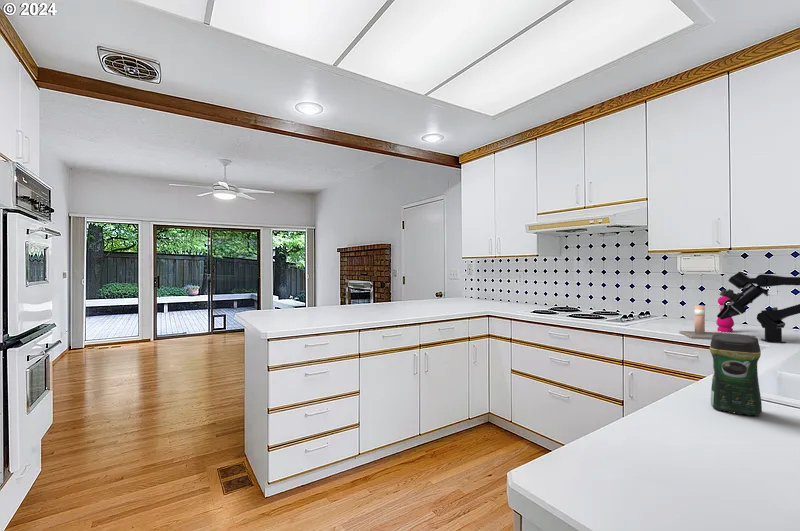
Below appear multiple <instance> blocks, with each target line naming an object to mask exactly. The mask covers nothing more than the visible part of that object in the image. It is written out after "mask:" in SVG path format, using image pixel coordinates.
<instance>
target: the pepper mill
mask: <svg viewBox="0 0 800 531" xmlns="http://www.w3.org/2000/svg"><path fill="white" fill-rule="evenodd" d="M727 299H730V298H728V297H725V296H719V297H718V298H717V304H719V305H718V308H719V312H720V311H721V310H722V309H723V307H724V305H723V303H724V301H725V300H727ZM725 304H726V303H725ZM716 325H717V326H718V327H717V329H716V330H717V331H716V332H719V331H721V333H728V332H731V333H734V328H733V327H734V326H735V321H734V319H733V317H729V318H726V319H722V320H721V319H720V318H718V317H717V319H716Z"/></svg>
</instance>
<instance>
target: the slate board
mask: <svg viewBox="0 0 800 531" xmlns="http://www.w3.org/2000/svg"><path fill="white" fill-rule="evenodd" d="M678 333H679V334H681V335H683V336H686V337H687V338H689V339H692V340H693V339H695V340H711V339H712V335H713V334H715V333H722V332H719V331H716V332H715V331H705V334H695V330H694V331H693V330H692V331H690V330H679V332H678Z"/></svg>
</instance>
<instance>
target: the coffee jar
mask: <svg viewBox="0 0 800 531" xmlns="http://www.w3.org/2000/svg"><path fill="white" fill-rule="evenodd" d="M709 351H710V354H711V356H712V379H711V388H710V389H711V390H710V406H712V407H713V408H714V409H716V408H717V409H716V410H718V409H720V410H719V411H721V410H724V411H723V412H725V411H729V412H728V413H730V412H735V413H740V414H739V415H742V414H747V415H746V416H751V415H755V416H758V415H761V414H762V413H763V412H762V411H763V409H762V408H763V407H762V405H763V404H762V396H761V391H760V385H759V384H760V382H759V375H758V373H759V372H758V362H759V360H760V358H761V353H762V350H761V346H760V342H759V339H758V337H757V336H755V335H749V334H741V333H732V332H731V333H728V332H721V333H715V334H713V335H712V339H710V345H709ZM735 413H734V414H735Z"/></svg>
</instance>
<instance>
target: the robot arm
mask: <svg viewBox="0 0 800 531" xmlns="http://www.w3.org/2000/svg"><path fill="white" fill-rule="evenodd" d="M728 282H729V283H730V284H732V285H733V286H734V287H736V288H737V289H739V290H742V291H741V292H737V293H735V292H734V290H733V289H730V288H729V289H721V291H720V293H719V296H720V297H722V296H725V297H728V298H730V299H727V300H725V301H724V303H723V305H724V307H723V309H722V310H721V311H720V310H719V312H718V314H717V315H716V317H717V318H720V319H721V320H722V319H726V318H729V317H732V318H733V317H735V316H740V315H743V314H744V313H746V311H747V308H746V307H747V306H748V305H750V304H752V303H754V301H755V300H756V299H758V298H759V297H760V296H762V295H764V296H766V297H768V296H769V289H767V288H768V287H778V286H800V276H782V275H776V274H768V273H765V274H764V273H763V274H759V275H757V276H756V277H749V276H748V275H746V274H745V273H744V272H743V271H738V272H737V273H735V274H734V275H731V276H730V278H728ZM766 287H767V288H766ZM765 288H766V289H765ZM725 303H726V304H725ZM799 314H800V303H799V304H796V305H795V304H794V305H792V306H788V307H786V308H785V307H784V308H781V309H778V307H777V306H776V307H770V308H767V309H764V310H760V312H758V314H757V315H756V321H757V322H758V323H759V324H760V325H761V327H762V329H764V338H760V341H764V342H766V343H780V344H782V343H784V344H786V343H787V342H786V341H784V340H783V339H782V338H783V337H782V336H783V333H782V332H783V331H782V330H783V329H784V328H785V326H786V323H785V322H784V320H785V319H787V318H788V317H792V316H796V315H799Z"/></svg>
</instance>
